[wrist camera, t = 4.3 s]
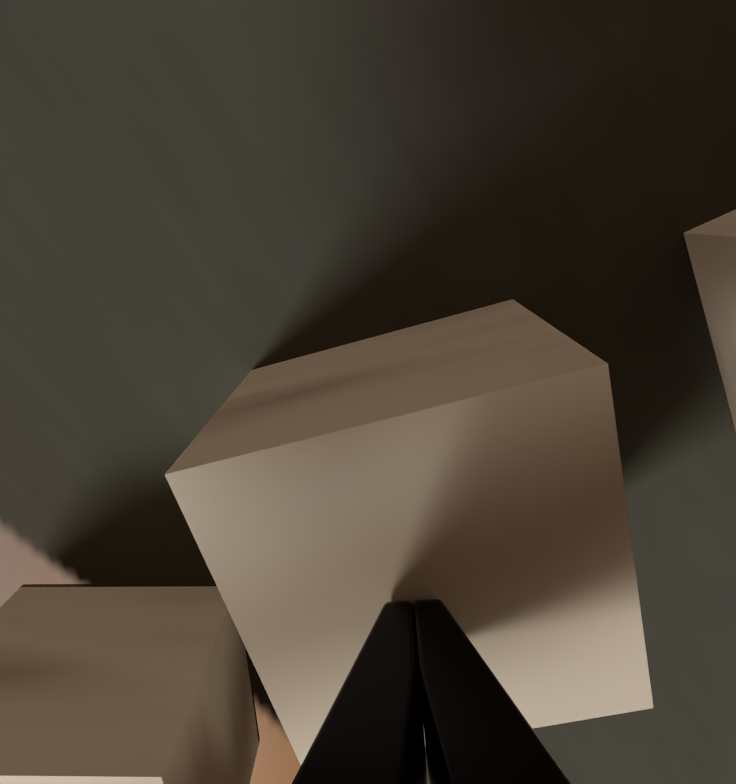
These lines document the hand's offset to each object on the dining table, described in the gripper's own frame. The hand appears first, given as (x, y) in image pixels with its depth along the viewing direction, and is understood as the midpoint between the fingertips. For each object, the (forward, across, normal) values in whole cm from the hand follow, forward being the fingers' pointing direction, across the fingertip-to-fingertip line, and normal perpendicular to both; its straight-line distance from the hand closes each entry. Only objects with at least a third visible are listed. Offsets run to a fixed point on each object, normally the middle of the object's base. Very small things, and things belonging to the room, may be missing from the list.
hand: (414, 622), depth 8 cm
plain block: (+5, 0, 0) cm, 5 cm away
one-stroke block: (+5, +8, +6) cm, 11 cm away
